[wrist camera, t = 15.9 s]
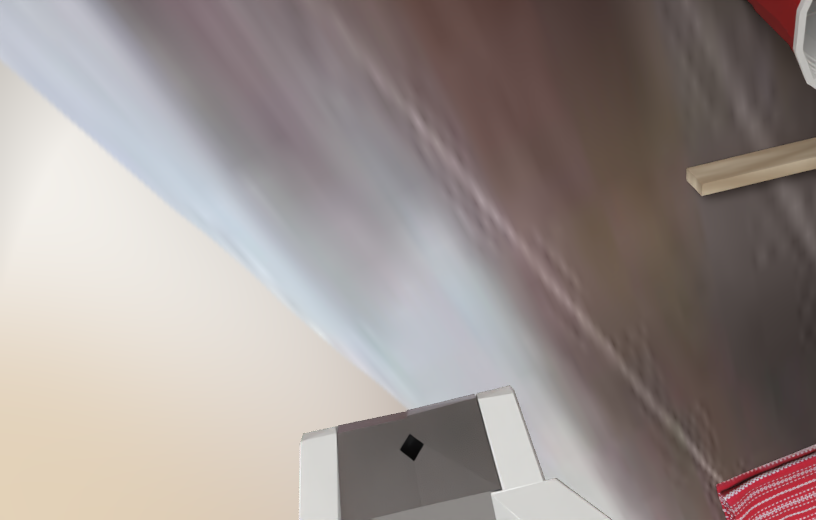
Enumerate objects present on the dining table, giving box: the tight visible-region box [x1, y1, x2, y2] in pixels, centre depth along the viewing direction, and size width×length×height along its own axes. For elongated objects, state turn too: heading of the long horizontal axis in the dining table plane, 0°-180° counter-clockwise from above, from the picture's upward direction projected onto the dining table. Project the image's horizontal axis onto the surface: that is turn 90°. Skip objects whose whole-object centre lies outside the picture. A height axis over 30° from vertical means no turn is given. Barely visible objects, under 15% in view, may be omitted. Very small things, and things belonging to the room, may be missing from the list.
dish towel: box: [716, 444, 816, 520], centre depth 79 cm, size 17×24×3 cm
